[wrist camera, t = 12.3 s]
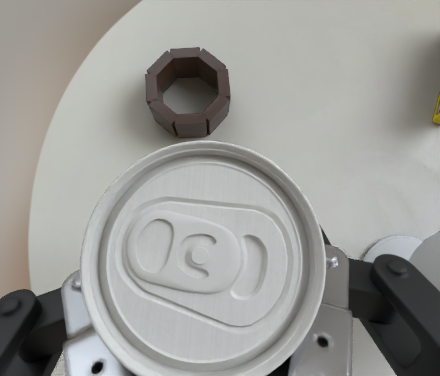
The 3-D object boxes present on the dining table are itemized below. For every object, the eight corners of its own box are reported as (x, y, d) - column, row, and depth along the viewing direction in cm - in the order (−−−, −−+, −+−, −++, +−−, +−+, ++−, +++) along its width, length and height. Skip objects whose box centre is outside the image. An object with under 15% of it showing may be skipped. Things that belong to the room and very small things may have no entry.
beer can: (241, 296, 20) (320, 452, 5) (160, 276, 20) (16, 376, 5) (258, 214, 21) (362, 157, 6) (181, 196, 21) (110, 98, 7)
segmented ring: (194, 152, 38) (191, 141, 33) (137, 105, 38) (128, 88, 34) (242, 98, 39) (246, 81, 35) (186, 55, 40) (183, 32, 36)
